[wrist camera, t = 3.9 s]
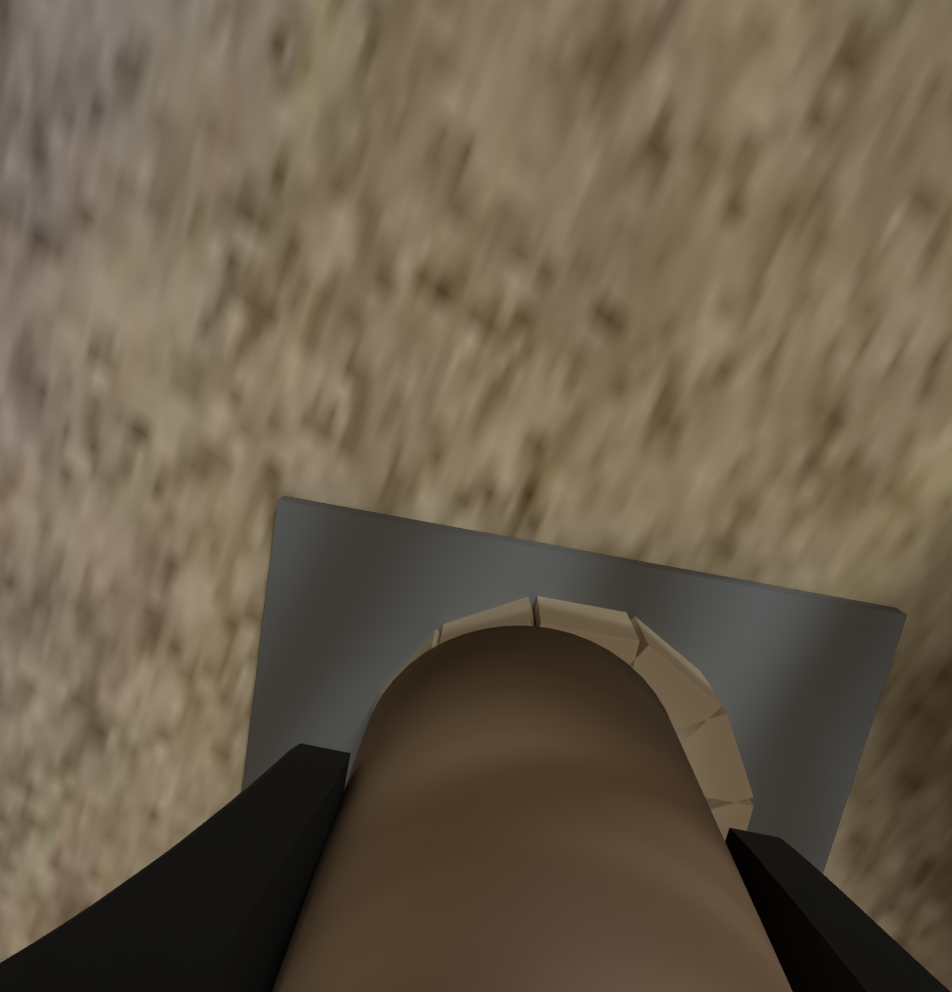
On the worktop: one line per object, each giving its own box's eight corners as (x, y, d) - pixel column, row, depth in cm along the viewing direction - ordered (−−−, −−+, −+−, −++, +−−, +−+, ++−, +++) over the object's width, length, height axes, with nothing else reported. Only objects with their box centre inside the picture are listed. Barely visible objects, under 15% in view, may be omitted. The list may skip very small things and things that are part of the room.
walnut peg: (714, 657, 10) (1047, 1144, 4) (642, 938, 11) (815, 1681, 5) (384, 598, 10) (197, 992, 4) (339, 884, 11) (136, 1558, 5)
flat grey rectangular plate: (895, 608, 18) (950, 644, 16) (773, 989, 21) (806, 1067, 19) (283, 496, 18) (253, 516, 16) (234, 891, 21) (201, 957, 19)
